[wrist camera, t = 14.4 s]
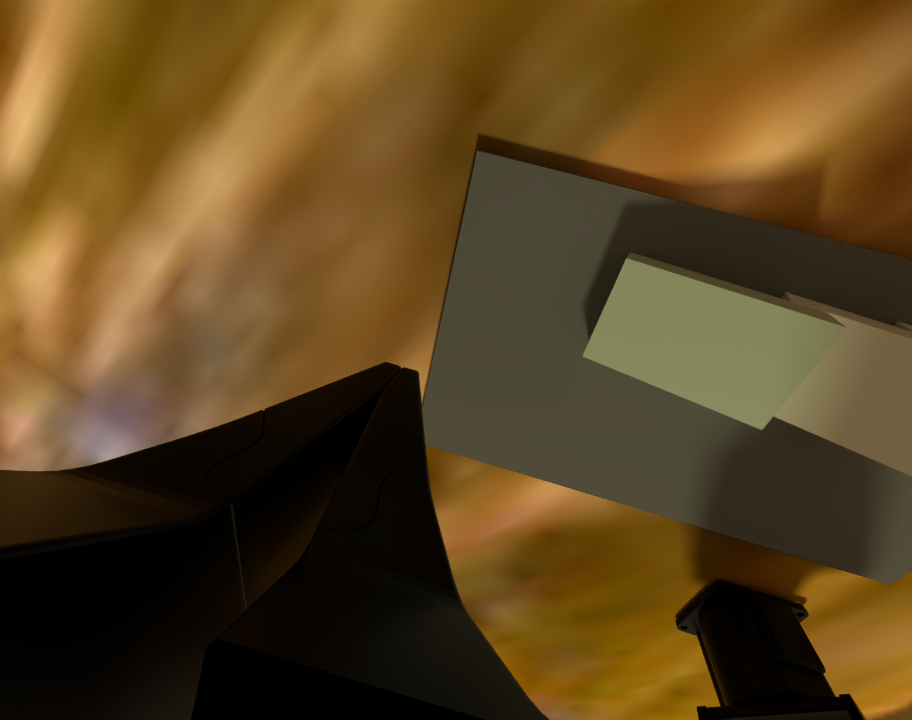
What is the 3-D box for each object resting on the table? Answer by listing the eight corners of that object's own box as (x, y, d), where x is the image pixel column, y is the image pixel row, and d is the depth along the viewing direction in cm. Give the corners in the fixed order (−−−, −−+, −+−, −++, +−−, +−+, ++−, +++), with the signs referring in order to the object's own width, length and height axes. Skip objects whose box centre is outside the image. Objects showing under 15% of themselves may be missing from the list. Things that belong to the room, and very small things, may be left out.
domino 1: (589, 343, 20) (753, 408, 18) (582, 356, 19) (761, 430, 16) (630, 251, 18) (827, 313, 15) (626, 258, 16) (846, 327, 14)
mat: (882, 575, 25) (890, 584, 24) (417, 436, 26) (415, 441, 26) (1219, 336, 16) (1242, 342, 15) (478, 150, 18) (477, 150, 17)
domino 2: (724, 379, 20) (920, 462, 17) (723, 394, 18) (940, 488, 15) (785, 291, 17) (1030, 369, 14) (791, 300, 16) (1067, 389, 13)
